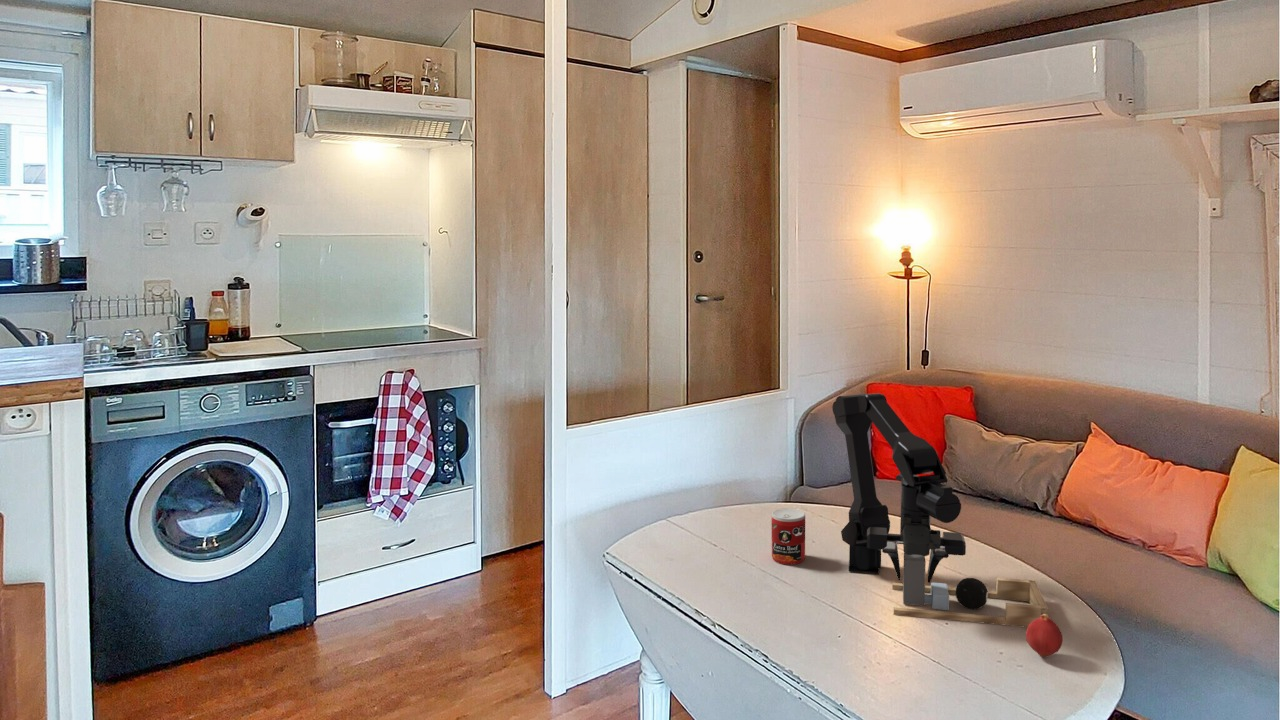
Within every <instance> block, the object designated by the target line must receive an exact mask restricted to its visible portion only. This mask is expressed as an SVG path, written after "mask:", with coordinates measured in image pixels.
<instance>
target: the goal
mask: <svg viewBox="0 0 1280 720" xmlns="http://www.w3.org/2000/svg"><path fill="white" fill-rule="evenodd" d="M996 592H997V598H1001V599H1000V600H1008V599H1013V600H1012V601H1019V600H1021V601H1022V602H1029V604H1025V603H1013V602H1005V611H1004V612H1005V614H1004V615H1005V616H1004V617H1005V618H1006V625H1005V626H1009V625H1013V627H1019V626H1024V627H1023V628H1028V626H1029V624H1030V623H1031V622H1032V621H1034V620H1035V619H1037V618H1040V617H1041V615H1042V614H1046V615H1048V616H1049V608H1048V605H1047V604H1046V601H1045V599H1044V596H1043V595H1042V593H1041V591H1040V588H1039V587H1038V584H1037V582H1036V580H1031V579H1030V580H1029V579H1028V580H1027V579H1017V578H1005V577H996ZM1021 601H1020V602H1021Z"/></svg>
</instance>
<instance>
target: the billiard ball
mask: <svg viewBox="0 0 1280 720" xmlns="http://www.w3.org/2000/svg"><path fill="white" fill-rule="evenodd" d="M955 588H956V595H955V597H956V600H957V602H958V603H959V604H960V605H961V606H962V607H964V608H966V609H969V610H978V609H981V608H983V607H984V606H986V604H987V602H988V599H989V598H988V591H989V590H988V588H987V586H986V584H985V583H984V582H983V581H981V580H980V579H978V578H975V577H965V578H963V579H961V580H959V581H958V583H957V584H956V587H955Z"/></svg>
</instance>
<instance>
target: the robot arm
mask: <svg viewBox="0 0 1280 720" xmlns="http://www.w3.org/2000/svg"><path fill="white" fill-rule="evenodd" d="M831 408H832V413H833V415H834V419H835V420H834V421H835V424H836V425H837V427H838V428H839V430H840V431H841V432H842V433H843V435H844V436H845V444H846V449H847V450H846V451H847V457H848V465H849V473H850V480H851V485H852V494H853V495H852V496H853V502H852V503H851V506H850V509H849V511H848V522H847V523H846V525H844V527H843V528H842V529H841V531H840V534H841V539H842V540H841V541H843V542H844V543H846V544H847V545H848V546H849V547H848V548H849V550H848V551H849V554H848V555H849V556H848V569H847V571H848V572H849V573H862V574H874V575H877V574H880V573H879V572H880V571H879V570H880V569H881V568H882V553H884V554H888V557H889V558H890V560H891V562H892V565H893V568H894V571H895V574H896V578H897V580H898V581H901V576H902V575H901V565H900V556H899V548H898V545H902V546H903V554H904V553H905V554H907V555H912V554H913V555H922V556H925V557H928V556H929V560H928V566H927V567H928V569H927V583H928V584H931V581H932V578H933V577H934V575H935V572H936V569H937V567H938V565H939V564H940V562H941V561H942V560H943V559H948V558H949V557H950V556H949V555H951V556H962V557H963V556H965V555H966V547H967V545H966V540H965V536H964V535H963V534H962V533H961V532H952V531H951V532H950V531H942V534H941V530H935V529H931V520H932V519H931V518H933V519H935V520H937V521H940V522H942V523H944V524H949V523H952V522H954V521H955V520H956V519H958V517H959V515H960V513H961V512H962V511H961V510H962V503H961V501H960V498H959V497H958V496H957V495H956V494H955V493H953V487H952V486H950V485H946V484H945V483H948V478H947V475H946V474H947V473H946V470H945V469H944V466H943V465H942V462H941V460H940V456H939V455H938V454H939V453H938V452H937V450H936V449H935V447H934V446H933V445H931V444H930V443H929V442H928V441H927V440H926V439H925V438H922V437H920V436H918V435H915V434H914V433H912V431H910V429H909V427H907V425H905V423H904V422H903V421H902V419H901V418H900V416H898V414H897V413H896V412H895V410H894V409H893V408H892V407H891V405H889V403H888V401H887V398H886V396H885V394H883V393H880V392H877V393H866V394H865V393H860V394H849V395H848V394H847V395H846V394H845V395H839V396H836V398H835V401H834V402H833V403H832V407H831ZM872 423H873V425H874V427H875V428H876V429H877V430H878V431H879V433H880V434H881V436H882V437H883V438H884V440H885V441H886V442H887V443H888V445H889V446H890V448H891V449H892V456H891V459H892V461H893V463H894V464H895V466H896V468H897V469H898V471H899V474H897V475H896V476H895V480H897V481H898V482H901V485H900V486H901V487H900V491H901V492H900V526H899V527H900V528H899V529H900V530H899V531H900V532H899V534H898V533H889V532H890V529H891V520H890V518H889V516H890V515H889V508H888V506H887V505H886V504H882V503H881V501H880V500H879V499H878V496H877V489H876V483H875V476H874V469H873V462H872V455H871V447H870V441H869V434H868V433H869V430H870V428H871V426H872ZM932 473H933V474H932ZM924 474H926V475H924ZM941 535H942V536H941Z"/></svg>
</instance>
